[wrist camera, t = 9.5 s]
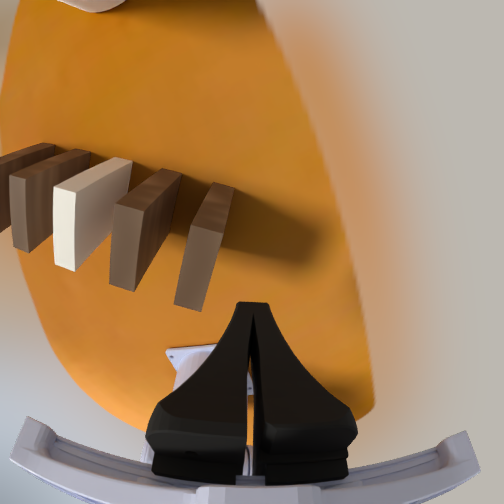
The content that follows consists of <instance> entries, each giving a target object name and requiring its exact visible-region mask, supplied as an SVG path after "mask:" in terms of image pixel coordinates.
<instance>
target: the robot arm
mask: <svg viewBox="0 0 504 504" xmlns="http://www.w3.org/2000/svg"><path fill="white" fill-rule="evenodd" d="M166 355H167V356H168V358H169V360H170V361H171V363H172V365H173V366H174V368H175V369H176V371H177V375H176V379H175V384H174V388H173V392H172V393H170V394H169V395H168V396H166V397H165V398H164V399H162V400H161V401H159V402H158V404H157V405H156V407H155V409H154V411H153V413H152V415H151V418H150V420H149V423H148V427H147V431H146V435H145V438H146V439H145V442H144V446H143V450H142V454H141V460H140V462H138V461H134V460H130V459H126V458H123V457H119V456H115V455H111V454H108V453H105V452H102V451H99V450H96V449H93V448H90V447H87V446H84V445H81V444H78V443H76V442H73V441H70V440H68V439H65V438H63V437H61V436H58V435H57V434H56V433H55V432H54V431H53V430H52V429H51V428H50V427H49V426H47V425H45V424H43V423H41V422H39V421H37V420H35V419H33V418H31V417H26V419H25V421H24V424H23V425H22V428H21V430H20V433H19V435H18V437H17V439H16V442H15V445H14V447H13V449H12V452H11V454H10V457H9V458H10V460H11V461H12V462H14V463H15V464H17V465H18V466H19V467H21V468H22V469H24V470H25V471H27V472H28V473H30V474H31V475H32V476H34V477H36V478H37V479H39V480H40V481H42V482H44V483H46V484H48V485H50V486H52V487H54V488H56V489H58V490H60V491H62V492H64V493H66V494H68V495H71V496H73V497H75V498H77V499H80V500H82V501H85V502H87V503H89V504H421V503H423V502H426V501H428V500H430V499H432V498H435V497H437V496H440V495H442V494H444V493H446V492H448V491H450V490H452V489H454V488H455V487H457V486H459V485H461V484H463V483H464V482H466V481H467V480H469V479H471V478H472V477H474V476H476V475H477V474H479V473H480V471H481V470H480V467H479V464H478V461H477V458H476V455H475V453H474V450H473V447H472V445H471V442H470V439H469V437H468V434H467V432H466V431H462V432H460V433H457V434H455V435H452V436H450V437H448V438H446V439H444V440H443V441H441V442H440V443H439V444H438V445H437V446H436V447H434V448H431V449H428V450H425V451H422V452H418V453H415V454H412V455H408V456H405V457H401V458H397V459H394V460H390V461H385V462H381V463H377V464H372V465H367V466H362V467H357V468H351V469H348V466H347V461H346V458H348V450H347V447H348V446H349V445H350V444H351V443H352V441H353V440H354V439H355V438H356V436H357V434H358V430H357V425H356V422H355V419H354V417H353V414H352V412H351V410H350V408H349V407H348V406H346V405H345V404H343V403H342V402H341V401H339V400H338V399H337V398H335V397H334V396H333V395H332V394H330V393H329V392H328V391H327V390H326V389H325V388H324V387H323V386H322V385H321V384H320V383H319V382H318V381H317V380H316V379H315V378H314V377H313V376H312V375H311V374H310V373H309V372H308V371H307V370H306V369H305V367H304V366H303V365H302V364H301V363H300V361H299V360H298V359H297V357H296V356H295V355H294V353H293V352H292V350H291V349H290V347H289V345H288V344H287V342H286V341H285V339H284V337H283V335H282V334H281V332H280V330H279V328H278V326H277V324H276V322H275V320H274V317H273V315H272V312H271V310H270V306H269V304H268V303H260V302H238V303H237V304H236V308H235V311H234V314H233V316H232V319H231V321H230V323H229V325H228V327H227V329H226V330H225V332H224V334H223V336H222V337H221V339H220V340H219V342H218V344H213V345H204V346H194V347H183V348H171V349H167V350H166ZM249 359H251V371H252V379H251V377H250V374H249V372H248V367H249ZM253 394H254V425H253V446H251V445H246V442H247V407H248V395H253Z"/></svg>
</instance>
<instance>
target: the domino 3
mask: <svg viewBox="0 0 504 504" xmlns="http://www.w3.org/2000/svg"><path fill="white" fill-rule="evenodd" d="M132 164H133V161H130V160H126V159H122V158H117V157H114V158H112V159H109V160H107V161H105V162H103V163H100V164H98V165H96V166H94V167H92V168H90V169H88V170H85V171H83V172H81V173H79V174H77V175H75V176H73V177H71V178H69V179H67V180H65V181H64V182H62V183H60V184H58V185H56V186H54V191H53V240H54V258H55V264H56V265H59V266H61V267H64V268H66V269H69V270H72V271H74V272H75V271H76V270H77V269H78V268H79V267H80V266H81V264H82V263H83V262H84V261H85V260H86V259H87V258H88V257H89V256H90V254H91V253H92V252H93V251H94V250H95V249H96V248H97V247H98V246H99V245H100V244H101V243H102V242H103V241H104V239H105V238H106V237H107V236H108V235H109V234H110V233H111V232H112V226H113V216H114V207H115V203H116V202H117V201H118V200H120V199H121V198H122V197H124V196H125V195H126V194H127V193H128V187H129V181H130V175H131V169H132Z"/></svg>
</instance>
